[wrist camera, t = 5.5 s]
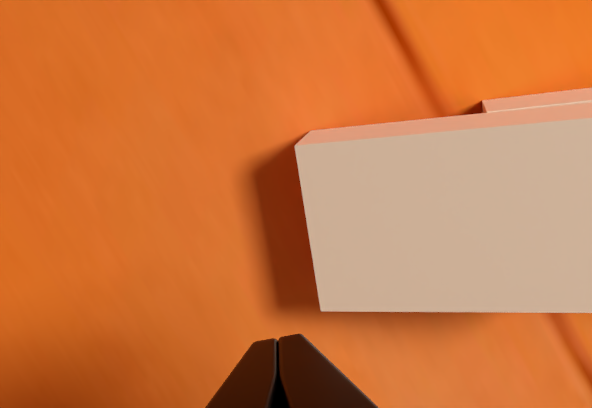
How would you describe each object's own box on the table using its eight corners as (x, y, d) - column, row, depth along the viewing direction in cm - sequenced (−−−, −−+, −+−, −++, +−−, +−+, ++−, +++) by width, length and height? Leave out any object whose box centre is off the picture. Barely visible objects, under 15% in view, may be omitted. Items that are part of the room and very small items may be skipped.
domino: (310, 130, 15) (666, 94, 13) (333, 281, 17) (654, 278, 14) (294, 145, 14) (699, 107, 11) (320, 311, 15) (680, 313, 13)
